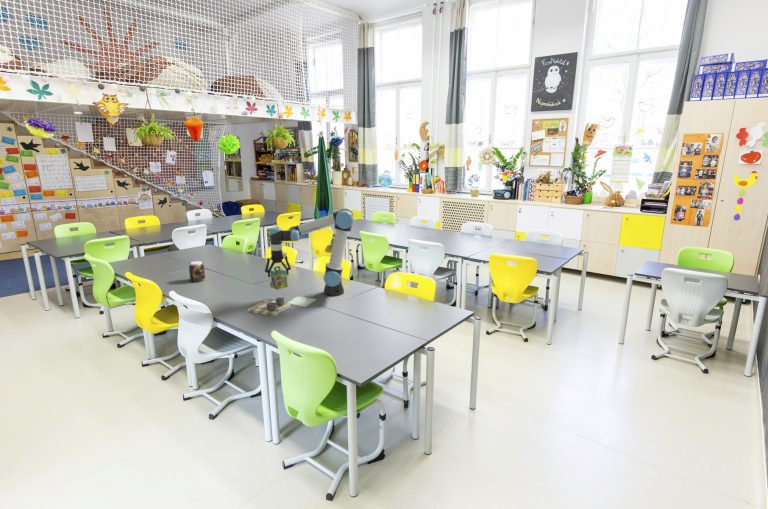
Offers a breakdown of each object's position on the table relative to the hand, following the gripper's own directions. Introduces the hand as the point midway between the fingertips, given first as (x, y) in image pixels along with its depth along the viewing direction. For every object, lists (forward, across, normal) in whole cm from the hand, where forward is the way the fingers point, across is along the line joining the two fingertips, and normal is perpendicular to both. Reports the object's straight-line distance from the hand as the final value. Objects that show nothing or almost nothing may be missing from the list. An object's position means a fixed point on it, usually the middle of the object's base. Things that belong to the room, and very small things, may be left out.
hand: (278, 280), depth 286 cm
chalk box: (+5, 0, 0) cm, 5 cm away
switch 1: (+12, +10, +24) cm, 28 cm away
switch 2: (+12, +3, +17) cm, 21 cm away
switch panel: (+14, +10, +16) cm, 24 cm away
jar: (+13, +51, -73) cm, 90 cm away
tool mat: (+14, -12, +12) cm, 23 cm away
